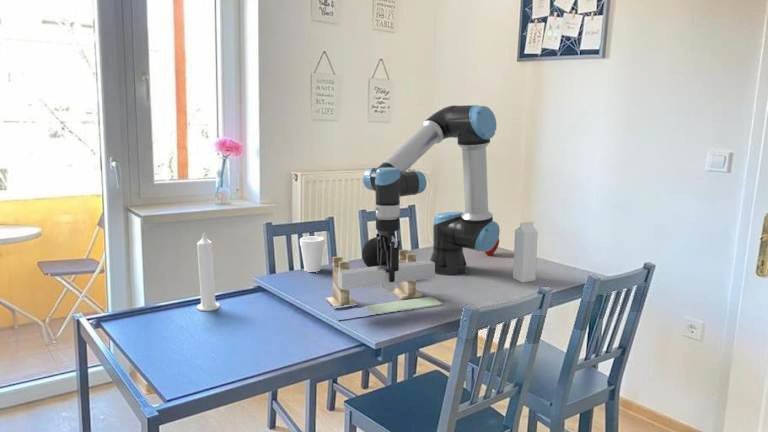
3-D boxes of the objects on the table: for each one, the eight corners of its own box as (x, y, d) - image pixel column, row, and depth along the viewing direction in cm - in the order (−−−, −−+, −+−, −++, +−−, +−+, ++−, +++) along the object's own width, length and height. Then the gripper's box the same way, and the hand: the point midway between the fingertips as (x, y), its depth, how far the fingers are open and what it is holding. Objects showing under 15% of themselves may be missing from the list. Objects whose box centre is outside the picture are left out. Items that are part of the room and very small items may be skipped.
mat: (431, 297, 195) (431, 296, 195) (442, 305, 188) (442, 303, 188) (330, 312, 181) (330, 311, 181) (338, 321, 174) (338, 319, 174)
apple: (476, 252, 255) (477, 229, 253) (495, 252, 256) (496, 228, 254) (482, 257, 247) (482, 233, 245) (501, 257, 248) (502, 232, 246)
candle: (199, 304, 189) (195, 230, 184) (221, 303, 190) (217, 229, 185) (194, 311, 182) (189, 235, 177) (217, 311, 183) (212, 234, 178)
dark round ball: (367, 281, 213) (367, 242, 211) (358, 272, 226) (357, 234, 223) (401, 278, 218) (401, 239, 215) (389, 269, 230) (389, 232, 227)
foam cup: (320, 274, 222) (319, 242, 220) (297, 273, 224) (296, 240, 222) (327, 268, 231) (326, 236, 229) (305, 266, 233) (304, 235, 231)
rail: (429, 274, 191) (429, 259, 190) (434, 277, 187) (435, 262, 186) (337, 286, 178) (337, 270, 178) (342, 289, 175) (341, 274, 174)
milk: (535, 280, 214) (538, 223, 210) (522, 282, 212) (525, 224, 208) (525, 276, 220) (528, 220, 215) (512, 278, 217) (515, 221, 213)
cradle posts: (411, 288, 205) (411, 248, 202) (422, 296, 197) (423, 254, 194) (325, 300, 192) (324, 257, 190) (333, 309, 184) (333, 264, 181)
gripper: (366, 213, 185) (367, 283, 190) (387, 223, 170) (387, 298, 174) (387, 212, 188) (387, 280, 192) (410, 221, 173) (409, 295, 177)
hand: (387, 288), depth 183 cm, fingers closed on rail, 4 cm apart
